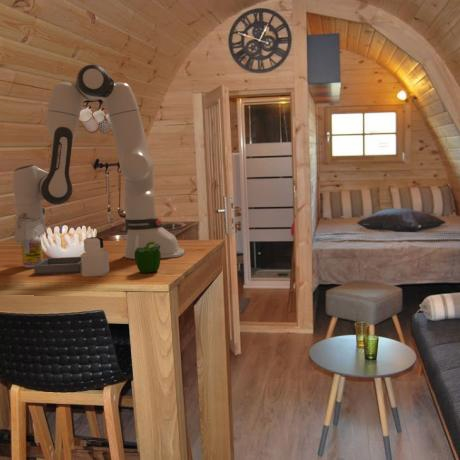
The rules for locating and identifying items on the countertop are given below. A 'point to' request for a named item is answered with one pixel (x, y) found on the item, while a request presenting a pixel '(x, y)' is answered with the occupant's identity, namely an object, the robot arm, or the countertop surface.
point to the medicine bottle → (94, 258)
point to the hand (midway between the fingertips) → (32, 250)
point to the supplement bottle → (33, 253)
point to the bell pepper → (148, 258)
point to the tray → (58, 266)
